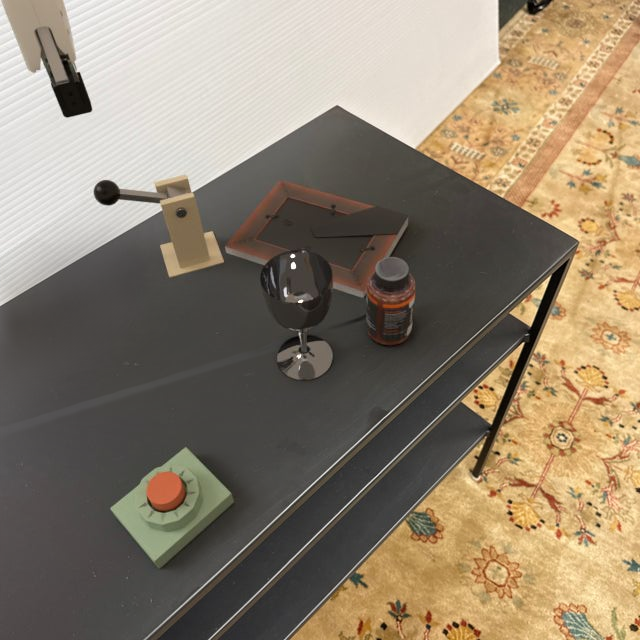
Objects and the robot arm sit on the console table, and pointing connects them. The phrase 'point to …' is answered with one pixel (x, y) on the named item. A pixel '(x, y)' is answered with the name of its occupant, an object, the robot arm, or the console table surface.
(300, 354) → the wine glass
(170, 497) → the button
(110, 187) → the lever
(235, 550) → the console table surface
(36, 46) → the robot arm
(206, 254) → the toaster bracket
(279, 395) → the console table surface
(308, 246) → the picture frame
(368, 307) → the supplement bottle
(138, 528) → the button box
